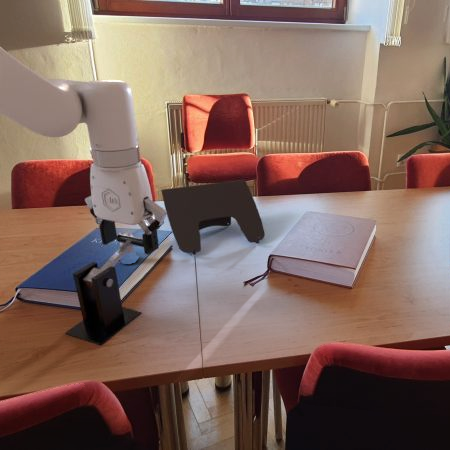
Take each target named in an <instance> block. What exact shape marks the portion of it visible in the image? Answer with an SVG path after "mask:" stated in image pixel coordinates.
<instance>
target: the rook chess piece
mask: <svg viewBox="0 0 450 450" xmlns="http://www.w3.org/2000/svg"><path fill="white" fill-rule="evenodd" d="M119 234H122V235H127V236H131V237H134V235H133V234H132V232H131V230H123V231H119V233H118V235H119ZM123 244H124V243H122V242H119V245H120V247H121V246H122V245H123ZM133 251H135V248H134V245H133V246H132V247H131V248H130V249H129V250H128V252H127V253H130V252H133Z"/></svg>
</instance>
